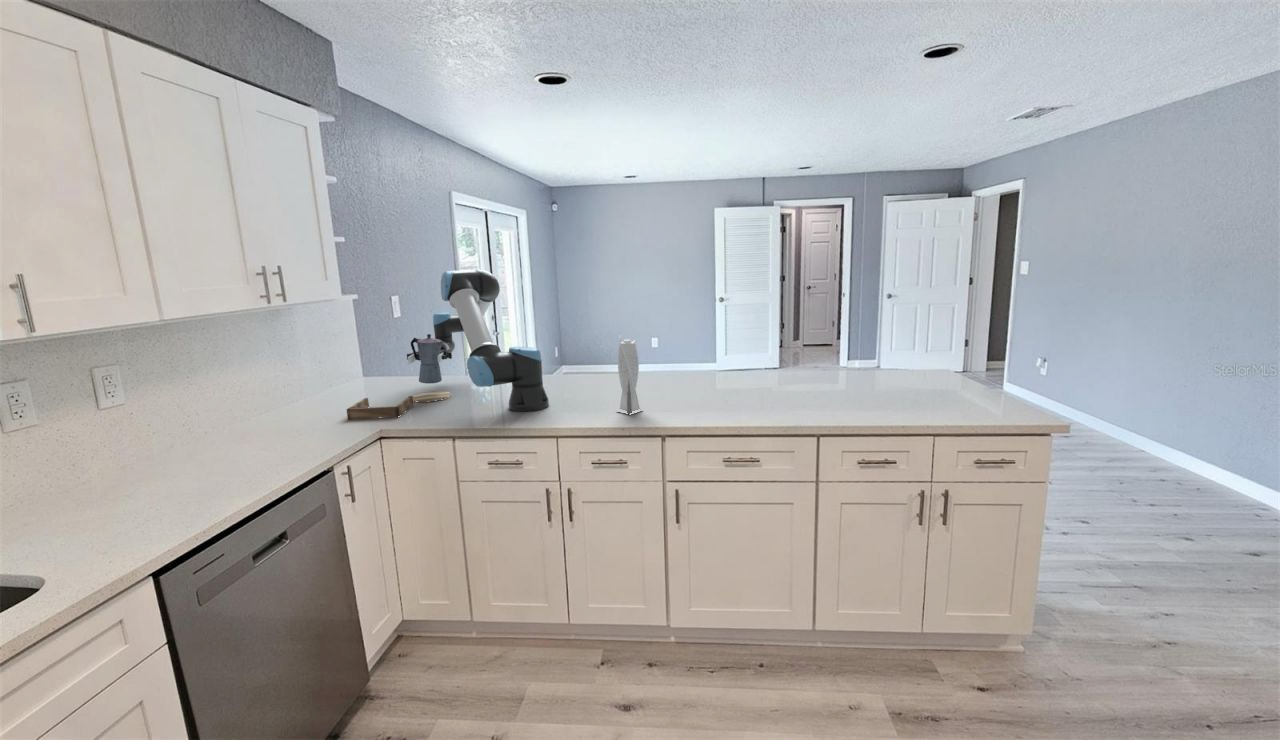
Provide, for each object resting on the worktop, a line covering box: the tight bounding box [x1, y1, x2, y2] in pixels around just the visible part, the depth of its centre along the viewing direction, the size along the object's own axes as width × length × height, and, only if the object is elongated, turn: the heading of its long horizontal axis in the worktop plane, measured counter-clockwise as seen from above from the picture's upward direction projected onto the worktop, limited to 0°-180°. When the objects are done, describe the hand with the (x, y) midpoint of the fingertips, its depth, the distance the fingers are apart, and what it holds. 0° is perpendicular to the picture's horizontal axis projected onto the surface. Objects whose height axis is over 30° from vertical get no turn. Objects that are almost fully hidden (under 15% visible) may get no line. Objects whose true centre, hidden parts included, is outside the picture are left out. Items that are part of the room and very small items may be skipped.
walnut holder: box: [346, 395, 415, 421], centre depth 215 cm, size 17×18×4 cm
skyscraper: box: [617, 335, 641, 414], centre depth 205 cm, size 8×8×28 cm
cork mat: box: [412, 390, 452, 402], centre depth 236 cm, size 16×16×1 cm
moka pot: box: [410, 333, 443, 385], centre depth 233 cm, size 10×15×20 cm, turn 79°
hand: (423, 359), depth 229 cm, fingers closed on moka pot, 11 cm apart
